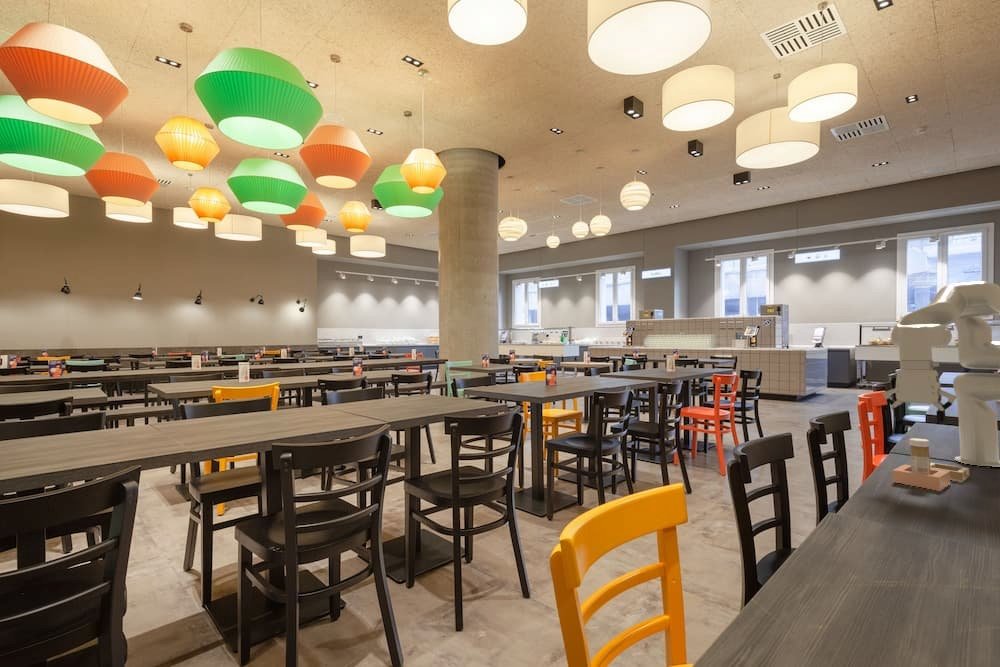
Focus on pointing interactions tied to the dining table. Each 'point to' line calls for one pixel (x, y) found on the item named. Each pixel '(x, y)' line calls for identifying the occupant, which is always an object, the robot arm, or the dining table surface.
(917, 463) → the sprinkles bottle
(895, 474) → the terracotta socket
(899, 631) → the dining table surface
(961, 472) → the wooden collar
